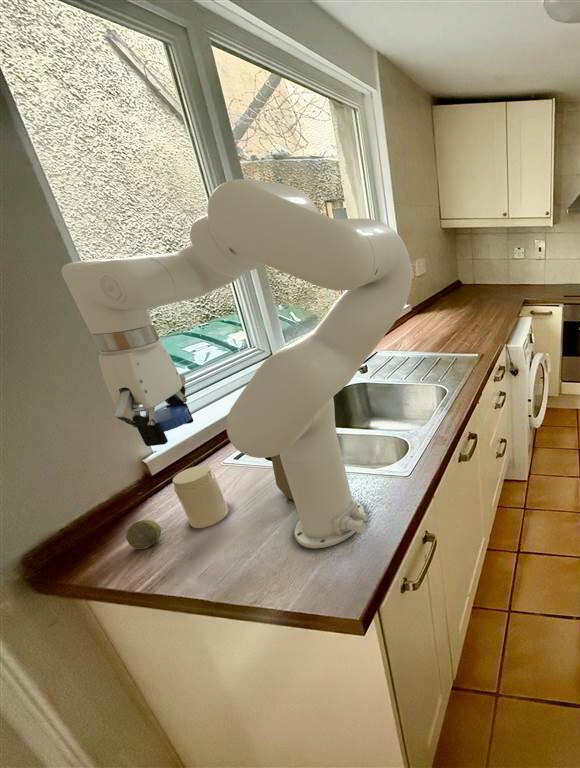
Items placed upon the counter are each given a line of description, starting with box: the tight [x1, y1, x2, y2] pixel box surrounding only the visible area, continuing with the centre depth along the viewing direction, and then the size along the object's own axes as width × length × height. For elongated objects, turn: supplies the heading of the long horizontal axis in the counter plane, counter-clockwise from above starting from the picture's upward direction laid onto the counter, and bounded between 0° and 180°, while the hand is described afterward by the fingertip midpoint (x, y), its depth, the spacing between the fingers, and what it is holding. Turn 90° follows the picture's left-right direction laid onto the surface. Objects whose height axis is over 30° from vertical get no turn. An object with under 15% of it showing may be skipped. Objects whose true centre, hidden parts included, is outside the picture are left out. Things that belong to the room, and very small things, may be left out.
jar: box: [172, 465, 229, 529], centre depth 78 cm, size 6×6×11 cm
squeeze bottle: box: [270, 454, 294, 501], centre depth 83 cm, size 8×8×18 cm
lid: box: [143, 406, 192, 433], centre depth 70 cm, size 7×7×2 cm
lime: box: [125, 519, 162, 550], centre depth 73 cm, size 4×5×5 cm
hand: (171, 432), depth 71 cm, fingers closed on lid, 6 cm apart
